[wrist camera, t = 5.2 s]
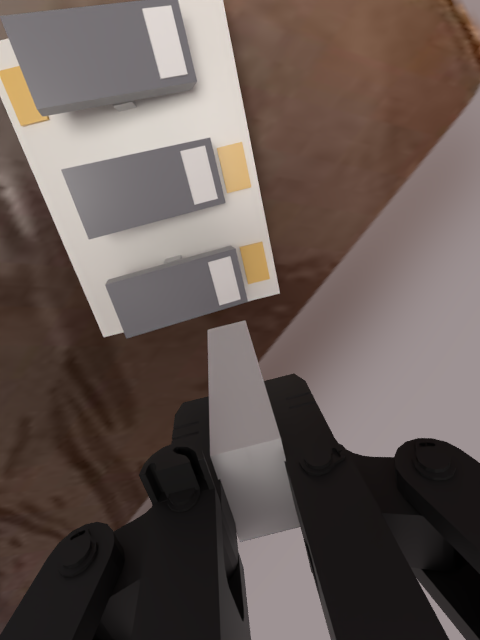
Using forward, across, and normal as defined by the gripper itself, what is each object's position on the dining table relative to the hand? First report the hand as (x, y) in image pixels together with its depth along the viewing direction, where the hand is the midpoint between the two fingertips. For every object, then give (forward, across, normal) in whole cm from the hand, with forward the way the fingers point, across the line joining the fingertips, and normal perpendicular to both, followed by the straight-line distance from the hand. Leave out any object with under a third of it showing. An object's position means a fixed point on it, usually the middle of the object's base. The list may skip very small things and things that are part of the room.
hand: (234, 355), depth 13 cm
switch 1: (+13, -3, +14) cm, 19 cm away
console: (+19, -3, +7) cm, 20 cm away
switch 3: (+13, -3, 0) cm, 13 cm away
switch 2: (+13, -3, +7) cm, 15 cm away
